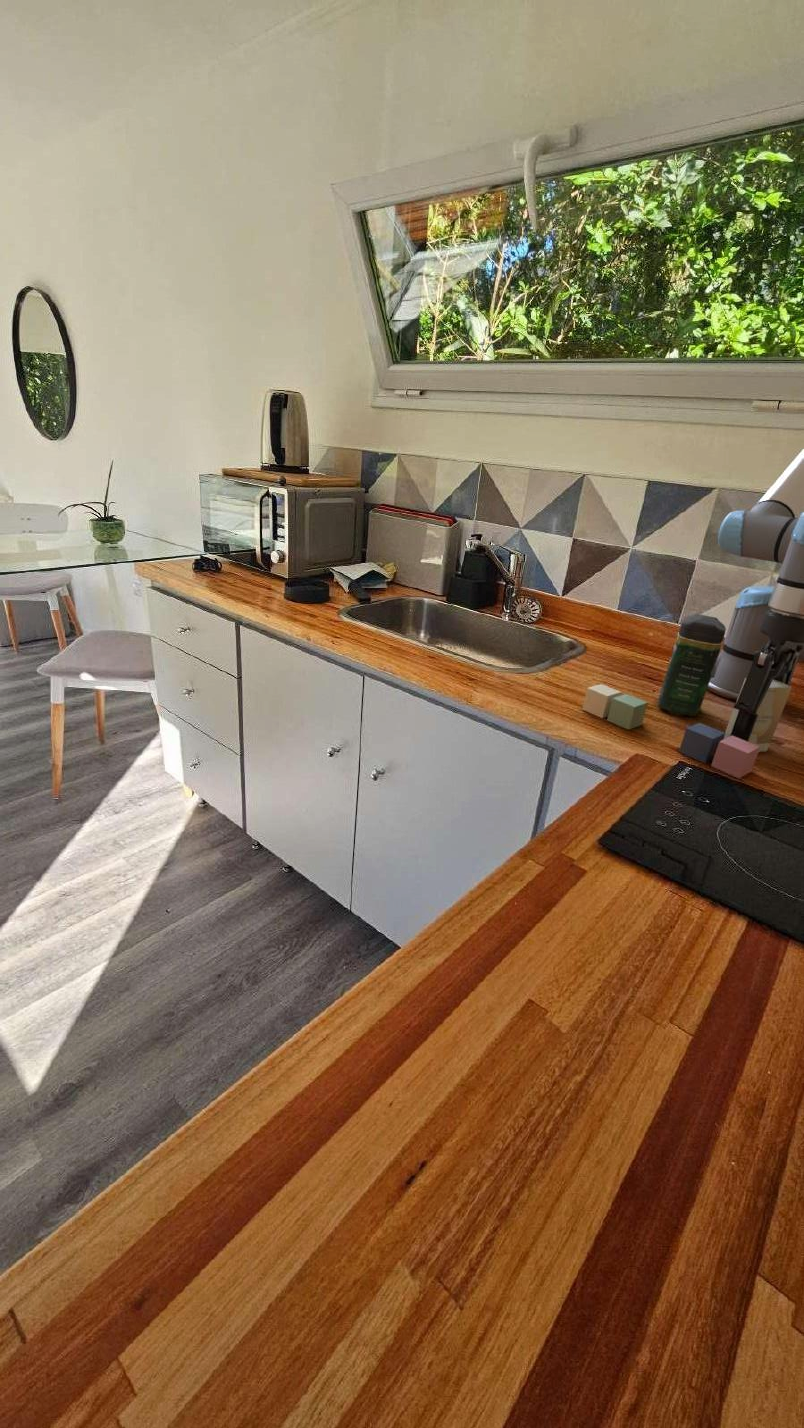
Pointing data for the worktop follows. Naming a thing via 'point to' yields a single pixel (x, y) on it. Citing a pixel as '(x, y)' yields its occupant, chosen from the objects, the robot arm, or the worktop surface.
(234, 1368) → the worktop surface
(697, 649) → the coffee jar
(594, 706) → the block cream
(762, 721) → the cosmetic box
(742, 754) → the block rose
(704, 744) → the block slate
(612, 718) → the block sage
